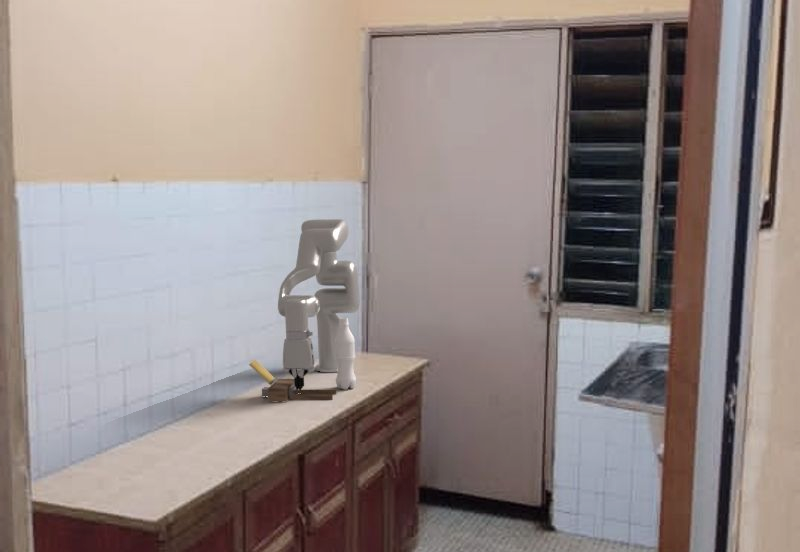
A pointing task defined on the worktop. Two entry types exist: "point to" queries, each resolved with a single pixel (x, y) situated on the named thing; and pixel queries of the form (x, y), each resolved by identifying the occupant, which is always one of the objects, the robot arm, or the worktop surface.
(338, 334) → the water bottle
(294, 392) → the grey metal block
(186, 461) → the worktop surface
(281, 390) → the block
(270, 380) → the yellow grey-edged tile
